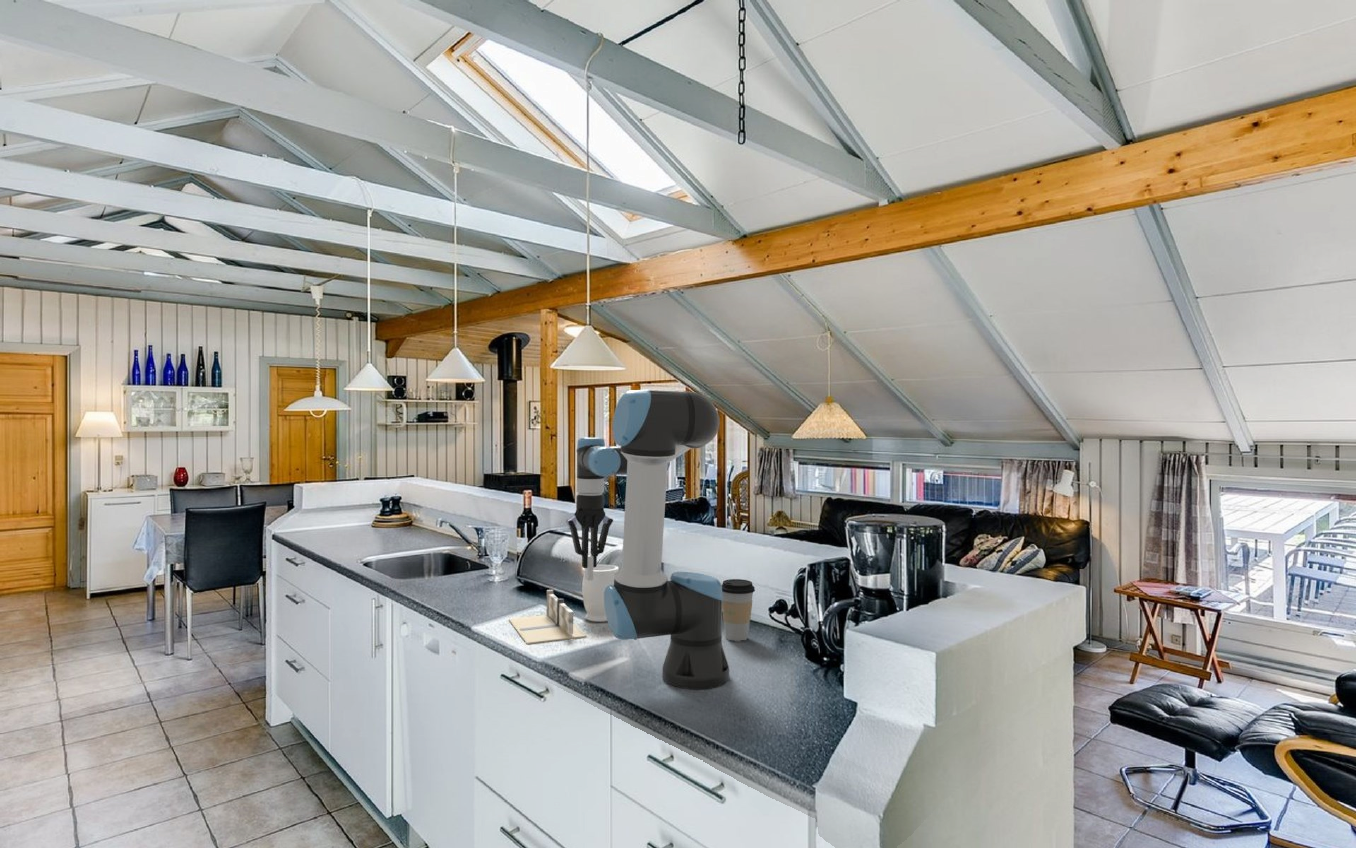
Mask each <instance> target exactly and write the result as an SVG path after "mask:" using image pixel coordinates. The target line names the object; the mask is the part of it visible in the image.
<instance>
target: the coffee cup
mask: <svg viewBox="0 0 1356 848" xmlns="http://www.w3.org/2000/svg"><path fill="white" fill-rule="evenodd" d="M721 585H722V596H723V601H722V621H723V624H724V625H723V626H724V636H725V639H726V638H727V639H726V640H728V641H730V640H734V641H733V642H741V641H740V640H745V641H747V640H748V639H747V638H749V631H750V630H749V629H750V622H751V615H752V609H753V608H752V607H753V595H754V592H755V591H756V589H755V586H754V585H753V582H752V581H751V580H747V579H742V578H741V579H739V578H733V579H731V578H730V579H729V578H728V579H726V580H723V582H722V583H721ZM746 639H747V640H746Z"/></svg>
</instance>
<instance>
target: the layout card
mask: <svg viewBox="0 0 1356 848" xmlns="http://www.w3.org/2000/svg"><path fill="white" fill-rule="evenodd" d="M508 621H509V623H510V624H511V625H512V626H513V628H514V630H515V631H516V632H517V633H518V635H519V636H520V637H521V639H522V640H523V641H524V642H525V643H524V644H526V645H532V644H540V643H541V644H542V643H550V642H558V641H565V640H566V641H567V640H572V639H573V640H575V639H581V638H582V639H583V638H587V634H585V633H584V632H583V631H582V630H581V629H580V628H579V627H578V626H576V624H575V623H574V622H573V634H571V635H569V634H568V633H567V632H566V631H565V630H564V629H563V628H562V627H561V626H556V623H555V622H554V620H553V619H552V618H551V617H550V616H549V615H547V614H544V615H543V614H541V615H532V616H524V617H523V616H522V617H515V618H514V617H513V618H508Z"/></svg>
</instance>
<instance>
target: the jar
mask: <svg viewBox="0 0 1356 848" xmlns="http://www.w3.org/2000/svg"><path fill="white" fill-rule="evenodd" d="M619 570H620V567H619V566H617V565H613V564H601V563H600V564H598V563H597V566H596V567H593V580H590V581H588V580H586V579H585V568H583V567H582V572H583V573H584V574H583V577H582V584H581V593H582V599H583V606H584V610H585V611H586V614H585V616H584V618H585V619H586V620H587V621H589V622H596V623H597V622H598V623H600V622H601V623H602V622H604V623H605V622H608V621H607V617H606V613H605V606H604V591H605V588H606V587H607V586H609V585H614V575H615V573H616V572H618V571H619Z"/></svg>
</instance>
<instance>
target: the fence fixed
mask: <svg viewBox="0 0 1356 848" xmlns="http://www.w3.org/2000/svg"><path fill="white" fill-rule="evenodd" d="M557 599H559V598H558V597H557V596H556V595H555V593H554V590H553V589H547V590H546V615H549V616H550V617H551V618H552V619H553V620H554V622H555V623H556V626H560V625H559V624H557Z"/></svg>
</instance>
